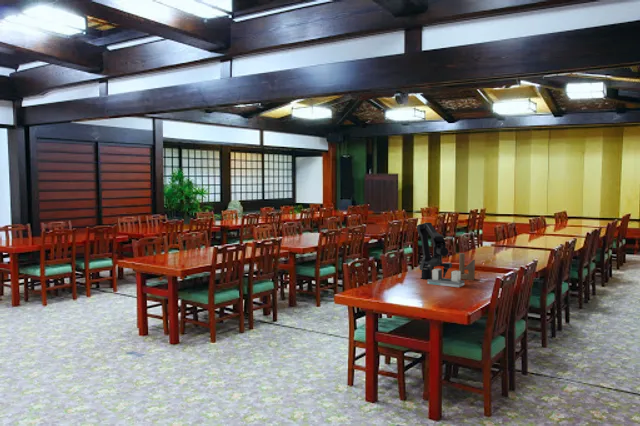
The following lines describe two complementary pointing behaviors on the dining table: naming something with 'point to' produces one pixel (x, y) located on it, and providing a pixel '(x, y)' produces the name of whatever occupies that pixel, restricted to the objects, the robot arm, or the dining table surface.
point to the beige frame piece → (469, 267)
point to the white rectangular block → (436, 274)
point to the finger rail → (449, 280)
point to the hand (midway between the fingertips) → (437, 277)
